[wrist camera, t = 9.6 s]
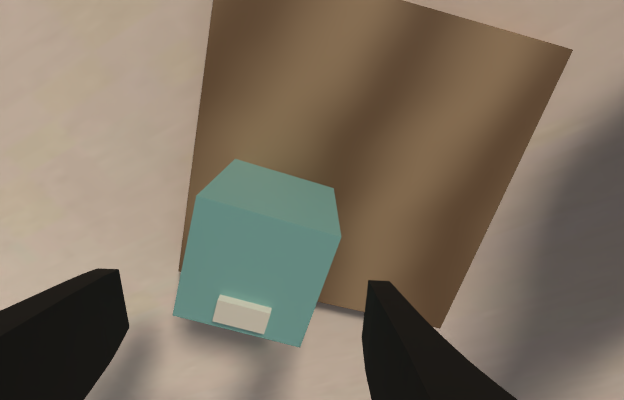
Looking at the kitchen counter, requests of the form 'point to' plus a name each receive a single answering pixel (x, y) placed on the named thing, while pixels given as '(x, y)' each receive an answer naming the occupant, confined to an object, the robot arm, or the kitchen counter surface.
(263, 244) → the teal cube
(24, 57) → the kitchen counter surface
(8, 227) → the kitchen counter surface
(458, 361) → the robot arm
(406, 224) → the board
